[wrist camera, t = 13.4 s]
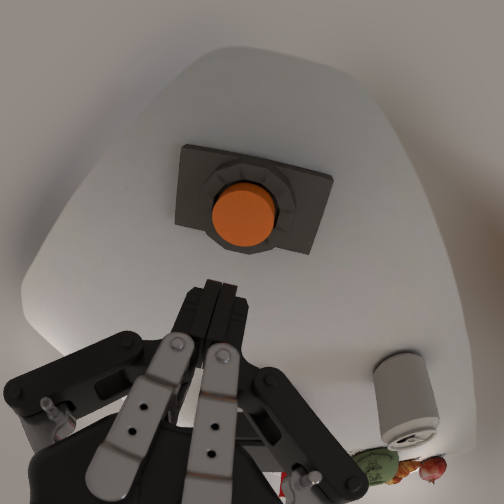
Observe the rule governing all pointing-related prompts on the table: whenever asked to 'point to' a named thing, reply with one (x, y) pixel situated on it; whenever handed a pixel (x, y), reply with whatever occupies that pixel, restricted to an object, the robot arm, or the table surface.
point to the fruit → (432, 469)
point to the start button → (244, 214)
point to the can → (405, 402)
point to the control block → (259, 173)
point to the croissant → (404, 470)
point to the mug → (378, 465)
